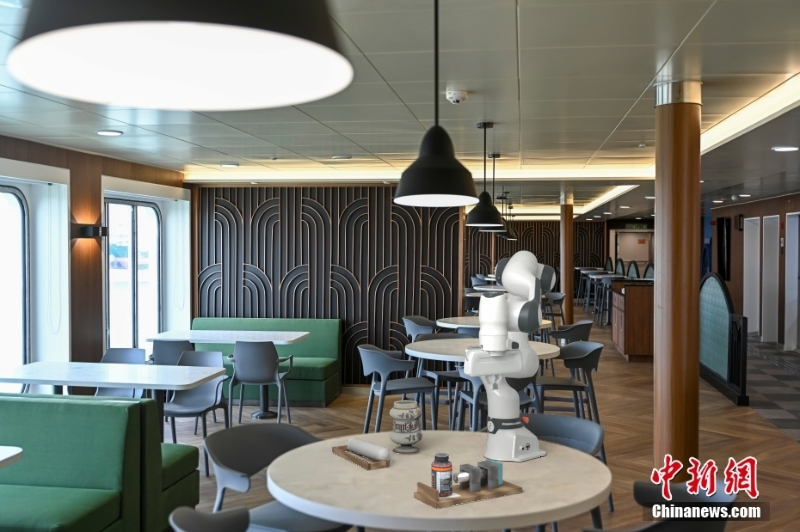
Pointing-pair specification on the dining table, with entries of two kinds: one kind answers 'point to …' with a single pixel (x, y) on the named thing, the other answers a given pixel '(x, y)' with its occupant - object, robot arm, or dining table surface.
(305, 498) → the dining table surface
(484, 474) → the shaft
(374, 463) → the tube cradle
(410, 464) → the dining table surface
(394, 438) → the apothecary jar
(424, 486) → the rail
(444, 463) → the supplement bottle
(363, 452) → the tube
